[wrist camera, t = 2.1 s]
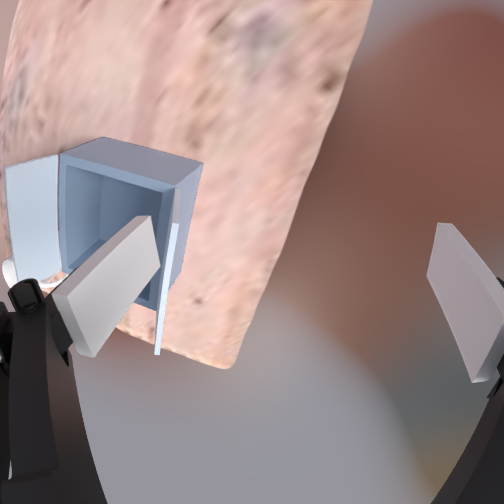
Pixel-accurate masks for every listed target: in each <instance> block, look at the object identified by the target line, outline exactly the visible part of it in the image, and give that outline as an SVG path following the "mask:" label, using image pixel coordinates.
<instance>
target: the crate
mask: <svg viewBox="0 0 504 504" xmlns="http://www.w3.org/2000/svg"><path fill="white" fill-rule="evenodd" d="M203 164H204V163H202V162H198V161H195V160H191V159H188V158H184V157H181V156H177V155H173V154H170V153H166V152H162V151H159V150H155V149H151V148H147V147H143V146H139V145H135V144H131V143H127V142H123V141H119V140H115V139H111V138H106V137H102V138H99V139H96V140H93V141H91V142H88V143H85V144H83V145H80V146H77V147H75V148H72V149H70V150H67V151H65V152H62V153H60V165H59V234H60V252H61V265H62V272H65V273H67V274H70V273H71V272H72V271H73V270H74V269H75V268H77V267H79V266H81V265H82V264H83V263H84V262H85V261H86V260H87V259H88V258H89V257H90V256H91V255H93V254H94V253H95V252H96V251H97V250H98V249H99V248H100V247H101V246H103V245H104V244H105V243H106V242H107V241H108V240H109V239H110V238H112V237H113V236H114V235H115V234H116V233H117V232H118V231H120V230H121V229H122V228H123V227H124V226H125V225H127V224H128V223H129V222H130V221H131V220H132V219H134V218H135V217H136V216H151V221H152V226H153V231H154V236H155V242H156V247H157V251H158V256H159V261H160V268H159V269H158V270H157V271H156V273H155V274H154V275H153V277H152V278H151V279H150V281H149V282H148V283H147V285H146V286H145V287H144V289H143V290H142V291H141V293H140V294H139V295H138V297H137V298H136V299H135V301H134V303H137V304H139V305H142V306H144V307H147V308H150V309H152V310H155V311H157V303H158V295H159V287H160V279H161V272H162V265H163V258H164V251H165V245H166V238H167V232H168V226H169V220H170V214H171V209H172V203H173V198H174V192H175V188H176V189H181V196H180V218H179V228H178V233H177V239H176V245H175V250H174V256H173V262H172V268H171V275H170V281H169V287H168V291H169V290H170V288H171V286H172V285H173V283H174V282H175V280H176V278H177V277H178V275H179V274H180V272H181V268H182V263H183V257H184V252H185V247H186V242H187V237H188V232H189V227H190V222H191V217H192V213H193V208H194V203H195V199H196V194H197V190H198V185H199V181H200V176H201V172H202V168H203Z"/></svg>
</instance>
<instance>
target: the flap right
mask: <svg viewBox="0 0 504 504" xmlns="http://www.w3.org/2000/svg"><path fill="white" fill-rule="evenodd" d="M180 196H181V189H176V188H175V192H174V198H173V203H172V209H171V214H170V220H169V226H168V232H167V238H166V245H165V251H164V258H163V265H162V272H161V279H160V287H159V295H158V303H157V313H156V331H155V355H159V354H160V347H161V339H162V331H163V323H164V315H165V308H166V301H167V294H168V287H169V281H170V275H171V268H172V262H173V256H174V250H175V245H176V239H177V233H178V228H179V218H180Z"/></svg>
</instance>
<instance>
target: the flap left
mask: <svg viewBox="0 0 504 504" xmlns="http://www.w3.org/2000/svg"><path fill="white" fill-rule="evenodd" d="M57 181H58V155H57V154H54V155H49V156H45V157H41V158H37V159H33V160H29V161H25V162H21V163H17V164H13V165H10V166H6V167H5V190H6V204H7V215H8V225H9V233H10V240H11V247H12V254H13V260H14V266H15V271H16V276H17V281H18V282H20V281H22V280H24V279H28V278H34V279H36V280H37V281H38V282H39V281H41V280H43V279H45V278H47V277H49V276H51V275H53V274H55V273H57V272H59V271H61V268H60V256H59V240H58V214H57Z"/></svg>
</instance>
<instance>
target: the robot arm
mask: <svg viewBox="0 0 504 504" xmlns="http://www.w3.org/2000/svg"><path fill="white" fill-rule="evenodd" d="M159 268H160V261H159V256H158V251H157V247H156V242H155V236H154V231H153V226H152V221H151V216H136V217H135V218H134V219H132V220H131V221H130V222H129V223H128V224H127V225H125V226H124V227H123V228H122V229H121V230H120V231H118V232H117V233H116V234H115V235H114V236H113V237H112V238H110V239H109V240H108V241H107V242H106V243H105V244H104V245H103V246H101V247H100V248H99V249H98V250H97V251H96V252H95V253H94V254H93V255H91V256H90V257H89V258H88V259H87V260H86V261H85V262H84V263H83V264H82V265H81V266H79V267H77V268H75V269H74V270H73V271H72V272H71V273H70V274H69V275H68V277H66V278H65V279H64V280H63V281H62V282H61V283H60V284H59V285H58V286H57V287H56V288H55V289H54V290H53V291H51V292H50V293H49V294H48V296H46V298H44V296H43V294H42V291H41V288H40V286H39V283H38V281H37V280H36V279H34V278H28V279H24V280H22V281H20V282H18V283H16V284H15V285H13V286H12V287H11V288H10V289H9V291H8V296H9V298H10V300H11V302H12V305H13V307H14V309H15V311H16V312H8V310H7V308H6V306H5V304H4V303H3V302H0V355H1V357H2V359H1V362H0V504H107V501H106V498H105V495H104V492H103V489H102V487H101V483H100V480H99V477H98V474H97V471H96V468H95V464H94V461H93V457H92V454H91V450H90V447H89V442H88V439H87V435H86V430H85V426H84V422H83V417H82V413H81V408H80V404H79V398H78V393H77V387H76V382H75V376H74V369H73V364H72V363H73V362H72V356H71V353H70V351H69V349H68V348H69V347H70V345H71V344H72V343H73V344H74V345H75V348H76V350H77V351H78V353H79V354H81V355H85V356H89V357H93V358H94V357H95V356H96V354H97V353H98V351H99V350H100V348H101V347H102V345H103V344H104V343H105V341H106V340H107V338H108V337H109V335H110V334H111V333H112V331H113V330H114V328H115V327H116V326H117V324H118V323H119V321H120V320H121V319H122V317H123V316H124V314H125V313H126V312H127V310H128V309H129V308H130V306H131V305H132V304H133V302H134V301H135V299H136V298H137V297H138V295H139V294H140V293H141V291H142V290H143V289H144V287H145V286H146V285H147V283H148V282H149V281H150V279H151V278H152V277H153V275H154V274H155V273H156V271H157V270H158V269H159ZM427 278H428V280H429V282H430V284H431V286H432V288H433V291H434V292H435V295H436V297H437V299H438V301H439V303H440V305H441V308H442V310H443V312H444V314H445V316H446V319H447V321H448V323H449V325H450V328H451V330H452V332H453V335H454V337H455V340H456V342H457V344H458V347H459V349H460V352H461V354H462V357H463V360H464V362H465V365H466V367H467V370H468V373H469V376H470V378H471V381H472V383H473V382H482V381H488V380H490V378H491V377H492V375H493V373H494V372H495V370H496V368H497V369H498V371H499V374H500V378H499V379H498V381H497V382H496V384H495V386H494V387H493V389H492V390H491V392H490V393H489V395H488V396H487V398H490V399H489V401H488V403H487V406H486V408H485V410H484V412H483V415H482V417H481V419H480V421H479V423H478V425H477V427H476V429H475V431H474V433H473V435H472V437H471V439H470V441H469V443H468V444H467V446H466V448H465V450H464V452H463V454H462V455H461V457H460V459H459V460H458V462H457V464H456V466H455V467H454V469H453V471H452V472H451V474H450V476H449V477H448V479H447V480H446V482H445V483H444V485H443V486H442V488H441V489H440V491H439V492H438V494H437V496H436V497H435V498H434V500H433V501H432V503H431V504H504V281H502V280H501V279H500V278H498V277H495V276H494V275H493V273H492V272H491V271H490V269H489V268H488V267H487V265H486V264H485V263H484V262H483V260H482V259H481V258H480V256H479V255H478V254H477V253H476V251H475V250H474V249H473V248H472V247H471V246H470V244H469V243H468V242H467V241H466V239H465V238H464V237H463V236H462V235H461V233H460V232H459V231H458V230H457V229H456V228H455V227H454V225H453V224H449V223H437V229H436V234H435V239H434V245H433V249H432V255H431V258H430V263H429V267H428V272H427ZM10 460H11V466H12V478H11V479H9V480H8V477H9V468H10Z"/></svg>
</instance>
